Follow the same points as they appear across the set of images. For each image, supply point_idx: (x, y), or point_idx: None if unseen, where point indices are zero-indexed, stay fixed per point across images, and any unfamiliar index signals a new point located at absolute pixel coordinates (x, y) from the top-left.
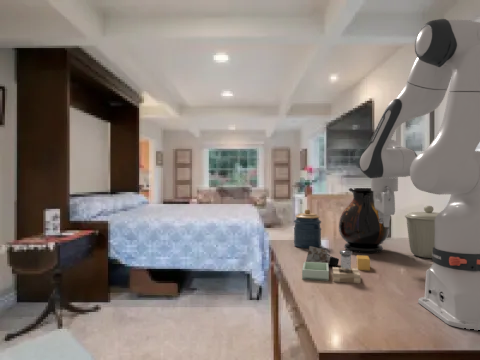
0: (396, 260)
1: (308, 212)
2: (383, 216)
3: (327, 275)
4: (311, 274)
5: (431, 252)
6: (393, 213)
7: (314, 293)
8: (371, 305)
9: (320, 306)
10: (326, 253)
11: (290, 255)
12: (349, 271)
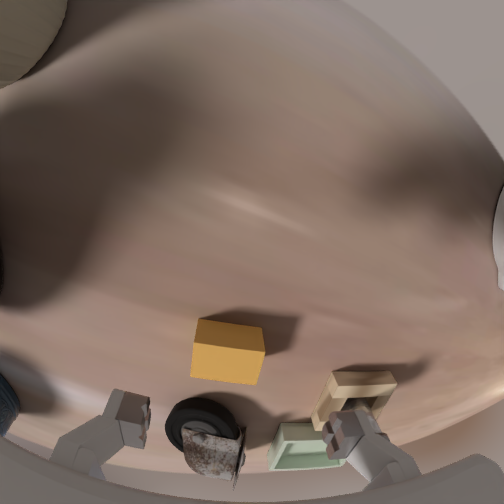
0: (79, 169)
1: None
2: (369, 488)
3: None
4: None
5: (55, 21)
6: (483, 459)
7: (414, 427)
8: (480, 359)
9: (456, 412)
10: (243, 456)
11: None
12: (367, 403)
